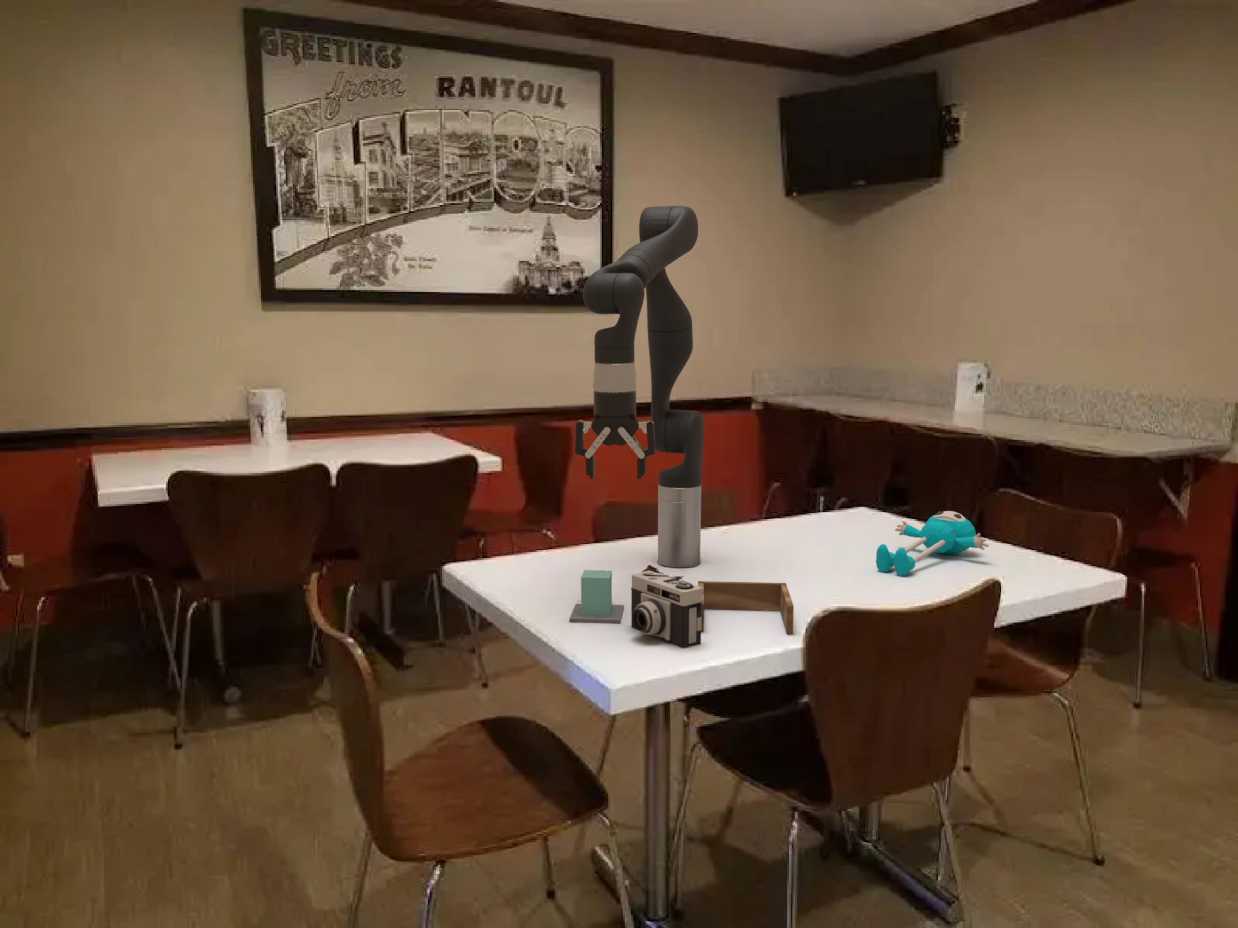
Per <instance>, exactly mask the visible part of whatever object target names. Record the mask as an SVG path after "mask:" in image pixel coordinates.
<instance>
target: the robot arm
mask: <svg viewBox="0 0 1238 928" xmlns="http://www.w3.org/2000/svg"><path fill="white" fill-rule="evenodd" d="M698 222H699V221H698V217H697V214H696V212H695V211H694V209H692V208H691V207H689V206H687V205H667V206H666V205H662V206H660V205H659V206H658V205H657V206H647V207H645V208H644V209H643V210H642V212H641V213H640V217H639V223H638V224H639V226H638V236H639V242H638V243H636V244H634V245H633V246H631V247H629V248H628V249H627V250H626V251H624V253H623V254H621V256H620V257H619V258H618V259H617V260H616V261H615V262H611V263H609V264H607V265H605V266H603V267H601V268H599V269H596V271H593V273H592V274H590V275H589V277H588V278H587V280H586V281H585V283H584V286H583V289H582V300H583V302H584V305H585V306H586V308H587V309H588V310H589V311H590V312H591V313H594V314H596V315H597V314H598V315H619V317H618V320H617V322H615V325H614V326H610V327H605V328H601V329H598V330H597V331H596V332H595V334H594V341H593V342H594V345H593V346H594V368H593V379H592V380H593V382H592V389H593V420H592V421H584V420H583V419H579V420H578V421H577V422H576V425H575V442H574V443H575V445H574V447H575V448H574V453H575V455H577V456H582V457H583V458H584V459H585V474H586V476H588V477H589V479H590V480H594V479H595V473H596V472H595V469H596V467H595V466H596V465H595V460H596V459H595V456H594V454H595V452H596V451H597V450H598V449H599V448H600V446H601V445H602V444H603V445H605V446H614V445H616V446H621V447H623V446H625V445H628V446H629V448H630V449H631V450H632V451H633V453H635V455H636V456H637V458H636V476H637V477H636V479H637V480H641V479H642V478H643V477H644V476H645V474H646V472H647V471H646V470H647V469H646V468H647V467H646V458H647V457H649V456H653V455H655V453H656V452H659V453H665V454H666V453H668V454H684V457H683V461H681V462H680V463H679V464H677V465H674V466H671V467H668V468H665V469H662V470H661V471H659V473H658V478H657V479H658V481H657V482H658V485H657V486H658V487H657V488H658V491H657V493H658V494H657V499H658V500H657V505H658V506H657V563H658V564H659V565H661V566H664V567H671V568H690V567H696V566H697V565H700V564H701V540H702V539H701V535H702V534H701V532H702V531H701V530H702V529H701V527H702V526H701V525H702V523H701V522H702V475H703V474H702V473H703V454H704V439H705V422H704V417H703V415H702V413H701V412H700V411H698V410H691V409H690V410H689V409H688V410H687V409H670V408H671V407H670V401H671V400H670V398H671V393H672V391H673V388H674V386H675V383H676V381H677V379H678V378H679V376H680V375H681V373H682V371H683V369H684V368H685V366H686V364H687V363H688V361H689V359H690V357H691V355H692V352H693V350H694V349H693V348H694V341H693V339H694V337H693V335H694V334H693V333H694V332H693V320H692V314H691V313H690V311H689V309H688V307H687V305H686V304H685V301H684V300H683V299H682V298H681V296H680V295H679V293H678V292H677V290H676V288H675V287H674V285H672V283H671V280H670V278H669V277H668V274H667V271H666V268H667V267H668V266H669V265H670V264H672V263H673V262H675V261H676V260H678V259H679V258H681V257H682V256H684V255H686V254H688V253H689V252H690V251H692V250H693V248H694V246H695V245H696V243H697V241H698V236H699V223H698ZM645 297H646V320H647V321H646V322H647V323H646V325H647V343H648V353H649V365H650V368H649V369H650V382H651V387H650V388H651V391H650V393H651V395H650V396H651V397H650V398H651V401H650V402H651V403H650V419H649V420H647V421H639V420H638V418H637V373H636V367H635V366H636V365H635V339H636V332H637V328H638V323H639V319H640V315H641V312H642V308H643V305H644V301H645ZM589 429H591V430H592V431H593V432H594V434H595V435H596V438H595V439H594V441H593V443H592V444H591V445H590V447H589V448H585V447H584V445H585V441H584V440H585V434H587V433H588V432H589ZM639 429H641V430H642V433H643V434H646V439H647V441H646V443H647V448H643V446H641V444H640V443H639V441H638V440H637V438H636V437H635V434H636V432H637V431H638V430H639Z"/></svg>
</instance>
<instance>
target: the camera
mask: <svg viewBox="0 0 1238 928" xmlns="http://www.w3.org/2000/svg"><path fill="white" fill-rule="evenodd" d="M661 573H662V572H661ZM661 573H655V572H652V571H644V572H642V571H640V572H636V573H631V588H630V591H631V592H630V593H631V594H630V595H631V602H630V603H631V613H630V614H631V615H630V616H631V619H630V621H631V628H632V629H635V630H637V631H639V632H640V633H641V634H643V635H646V636H647V635H649V636H651V637H654V638H656V639H659V640H661V641H664V642H667V643H669V644H672V645H674V646H675V647H678V648H681V649H687V648H690V647H693V646H697V645H701V643H702V632H701V603H702V588H701V587H698V585H695V584H692V583H691V584H690V582H688V583H686V582H687V581H685V582H683V581H684V580H683V579H682V580H681V579H680V581H676V580H675V579H676V578H673V577H674V576H670V575H669V574H666V573H664V574H661Z"/></svg>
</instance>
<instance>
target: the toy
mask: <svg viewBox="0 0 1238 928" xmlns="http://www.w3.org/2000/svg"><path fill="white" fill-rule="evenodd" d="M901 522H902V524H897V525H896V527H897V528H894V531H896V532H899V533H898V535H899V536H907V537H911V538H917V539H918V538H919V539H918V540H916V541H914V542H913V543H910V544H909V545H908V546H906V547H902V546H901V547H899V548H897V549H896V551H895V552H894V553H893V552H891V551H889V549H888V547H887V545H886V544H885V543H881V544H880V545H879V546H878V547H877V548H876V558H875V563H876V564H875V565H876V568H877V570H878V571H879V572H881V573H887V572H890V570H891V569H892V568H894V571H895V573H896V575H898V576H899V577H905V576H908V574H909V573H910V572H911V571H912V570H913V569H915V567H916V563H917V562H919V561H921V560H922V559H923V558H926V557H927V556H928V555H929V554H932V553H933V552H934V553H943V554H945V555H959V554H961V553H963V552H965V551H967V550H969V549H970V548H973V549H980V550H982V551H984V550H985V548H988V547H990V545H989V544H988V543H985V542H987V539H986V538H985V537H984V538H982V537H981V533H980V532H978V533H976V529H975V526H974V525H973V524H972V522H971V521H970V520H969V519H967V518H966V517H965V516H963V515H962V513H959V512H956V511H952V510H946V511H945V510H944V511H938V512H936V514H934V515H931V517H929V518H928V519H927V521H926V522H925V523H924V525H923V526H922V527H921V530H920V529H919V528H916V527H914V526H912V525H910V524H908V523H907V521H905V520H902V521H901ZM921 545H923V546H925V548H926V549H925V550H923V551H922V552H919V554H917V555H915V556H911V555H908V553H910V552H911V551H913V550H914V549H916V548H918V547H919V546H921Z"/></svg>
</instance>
